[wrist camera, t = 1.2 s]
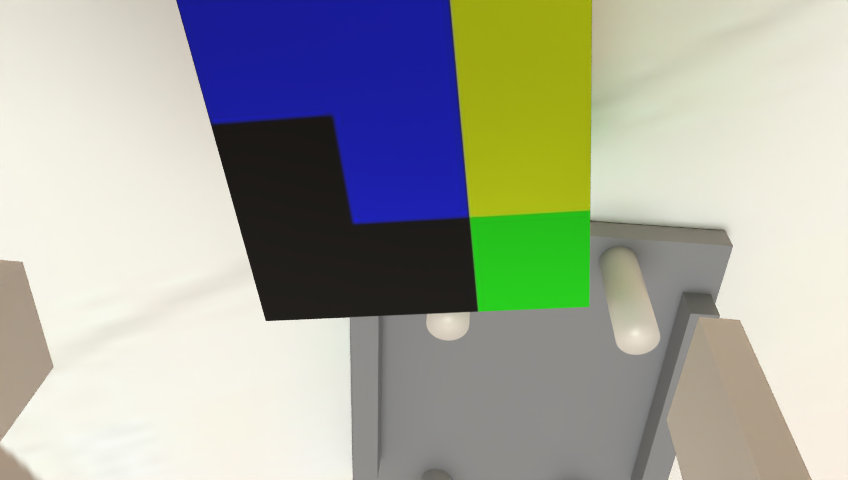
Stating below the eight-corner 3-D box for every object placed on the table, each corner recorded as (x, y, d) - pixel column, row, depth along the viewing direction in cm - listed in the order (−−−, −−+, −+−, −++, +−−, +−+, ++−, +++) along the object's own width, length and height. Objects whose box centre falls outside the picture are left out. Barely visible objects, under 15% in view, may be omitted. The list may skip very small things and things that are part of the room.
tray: (352, 205, 33) (326, 288, 27) (725, 230, 32) (771, 321, 27) (356, 470, 42) (337, 570, 36) (646, 494, 41) (669, 600, 36)
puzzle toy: (274, -75, 27) (175, -2, 18) (557, -106, 26) (592, -42, 17) (324, 174, 32) (265, 320, 24) (561, 159, 31) (589, 306, 22)
